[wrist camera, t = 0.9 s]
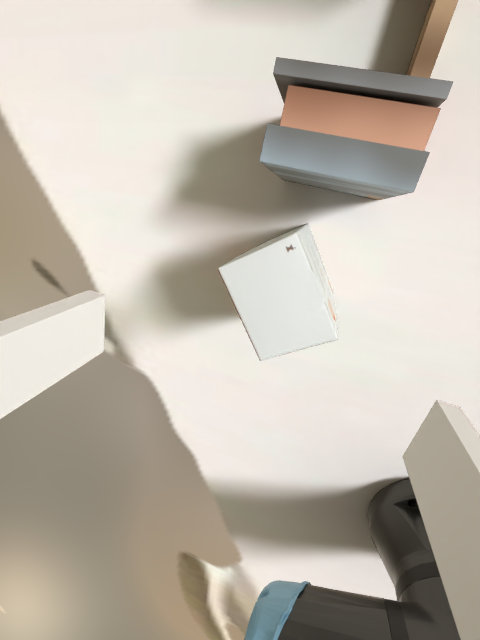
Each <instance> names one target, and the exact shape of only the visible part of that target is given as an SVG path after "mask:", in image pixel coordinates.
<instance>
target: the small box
mask: <svg viewBox="0 0 480 640" xmlns="http://www.w3.org/2000/svg"><path fill="white" fill-rule="evenodd" d="M218 271H219V273H220V275H221V277H222V279H223V282H224V284H225V286H226V288H227V290H228V292H229V295H230V297H231V299H232V301H233V303H234V305H235V308H236V310H237V312H238V314H239V316H240V318H241V320H242V323H243V325H244V327H245V329H246V332H247V333H248V336H249V338H250V340H251V342H252V344H253V347H254V349H255V351H256V353H257V355H258V357H259V360H260V361H262V360H266V359H269V358H273V357H276V356H280V355H284V354H287V353H291V352H294V351H298V350H302V349H305V348H309V347H313V346H316V345H320V344H324V343H327V342H331V341H335V340H337V339H338V326H337V317H336V307H335V297H334V290H333V287H332V284H331V281H330V279H329V276H328V273H327V271H326V268H325V265H324V263H323V260H322V257H321V255H320V252H319V249H318V247H317V244H316V242H315V239H314V236H313V234H312V231H311V229H310V227H309V224H305V225H303V226H301V227H298V228H296V229H294V230H291V231H289V232H287V233H285V234H282V235H280V236H278V237H276V238H274V239H271V240H269V241H267V242H265V243H263V244H261V245H259V246H256V247H254V248H253V249H251V250H249V251H247V252H245V253H243V254H241V255H240V256H238V257H236V258H234V259H232V260H230V261H229V262H227V263H225V264H224V265H222V266H220V267H219V268H218Z"/></svg>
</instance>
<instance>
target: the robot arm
mask: <svg viewBox="0 0 480 640" xmlns="http://www.w3.org/2000/svg"><path fill="white" fill-rule="evenodd" d="M104 327H105V295H104V294H100V293H97V292H94V291H91V290H88V291H85V292H82V293H80V294H77V295H74V296H71V297H68V298H65V299H62V300H60V301H57V302H54V303H51V304H48V305H45V306H42V307H40V308H37V309H34V310H31V311H28V312H25V313H23V314H20V315H17V316H14V317H11V318H8V319H5V320H2V321H0V419H1V418H3V417H4V416H5V415H7V414H9V413H10V412H12V411H13V410H15V409H16V408H18V407H19V406H21V405H22V404H24V403H26V402H27V401H29V400H30V399H32V398H33V397H35V396H36V395H38V394H39V393H41V392H42V391H44V390H45V389H47V388H49V387H50V386H51V385H53V384H55V383H56V382H58V381H59V380H61V379H62V378H64V377H65V376H67V375H68V374H70V373H72V372H73V371H75V370H76V369H78V368H79V367H81V366H82V365H84V364H85V363H87V362H88V361H90V360H92V359H93V358H94V357H96V356H98V355H99V354H101V353H102V352H104ZM403 459H404V462H405V466H406V469H407V472H408V475H409V478H410V479H407V480H403V481H399V482H396V483H394V484H391V485H389V486H387V487H386V488H384V489H382V490H381V491H380V492H379V493H378V494H377V495H376V496H375V497H374V498H373V500H372V502H371V504H370V506H369V510H368V519H369V526H370V533H371V537H372V540H373V542H374V545H375V547H376V548H377V550H378V552H379V554H380V557H381V559H382V561H383V563H384V565H385V567H386V570H387V572H388V574H389V576H390V578H391V580H392V582H393V584H394V587H395V591H396V596H397V601H393V600H388V599H384V598H379V597H373V596H367V595H362V594H356V593H350V592H345V591H339V590H333V589H328V588H323V587H318V586H313V585H311V584H310V582H307V581H304V582H302V583H297V582H288V581H273V582H271V583H269V584H268V585H267V586H266V587H265V588H264V589H263V590H262V592H261V594H260V596H259V598H258V600H257V602H256V604H255V606H254V609H253V612H252V615H251V617H250V621H249V624H248V627H247V631H246V635H245V639H244V640H480V435H479V434H478V432H477V431H476V430H475V428H474V427H473V425H472V424H471V422H470V421H469V419H468V418H467V416H466V415H465V413H464V412H463V411H462V409H461V408H460V407H458V406H455V405H452V404H448V403H445V402H442V401H439V400H436V402H435V403H434V405H433V407H432V408H431V410H430V412H429V413H428V415H427V417H426V418H425V420H424V422H423V423H422V425H421V427H420V428H419V430H418V432H417V433H416V435H415V437H414V438H413V440H412V442H411V443H410V445H409V447H408V448H407V450H406V452H405V453H404V455H403Z"/></svg>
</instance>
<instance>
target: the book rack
mask: <svg viewBox="0 0 480 640" xmlns="http://www.w3.org/2000/svg"><path fill="white" fill-rule="evenodd" d="M457 3H458V0H432V1H431V4H430V7H429V10H428V13H427V16H426V19H425V22H424V25H423V27H422V30H421V33H420V36H419V39H418V42H417V45H416V48H415V51H414V54H413V57H412V60H411V62H410V65H409V68H408V71H407V74H406V75H402V74H395V73H388V72H380V71H373V70H366V69H359V68H351V67H344V66H337V65H330V64H322V63H315V62H308V61H301V60H293V59H286V58H279V57H276V62H275V67H274V72H273V74H274V77H275V80H276V83H277V85H278V88H279V91H280V93H281V96H282V99H283V102H284V108H283V113H282V117H281V122H280V125H274V124H269V123H267V127H266V132H265V137H264V142H263V147H262V152H261V156H260V162H261V163H263V164H264V165H265V166H266V167H268V168H269V169H270V170H271V171H273V172H274V173H275V174H276V175H278V176H279V177H280V178H281V179H283V180H286V181H291V182H296V183H300V184H305V185H310V186H315V187H319V188H324V189H329V190H334V191H339V192H343V193H348V194H353V195H358V196H362V197H367V198H372V199H377V200H382V199H386V198H390V197H395V196H399V195H403V194H408V193H412V192H414V190H415V188H416V185H417V183H418V180H419V178H420V175H421V173H422V170H423V168H424V165H425V163H426V160H427V158H428V155H429V153H430V152H426V151H424V150H425V147H426V145H427V142H428V140H429V137H430V135H431V132H432V129H433V127H434V124H435V122H436V119H437V117H438V114H439V112H440V109H441V108H437V107H439V106H440V105H441V104H442V103H443V102H444V101H445V100H446V99H447V97H448V94H449V92H450V89H451V87H452V84H453V81H446V80H438V79H431V78H430V76H431V73H432V70H433V68H434V65H435V62H436V59H437V57H438V54H439V51H440V49H441V46H442V43H443V40H444V38H445V35H446V32H447V30H448V27H449V24H450V21H451V19H452V16H453V13H454V11H455V8H456V5H457Z"/></svg>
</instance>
